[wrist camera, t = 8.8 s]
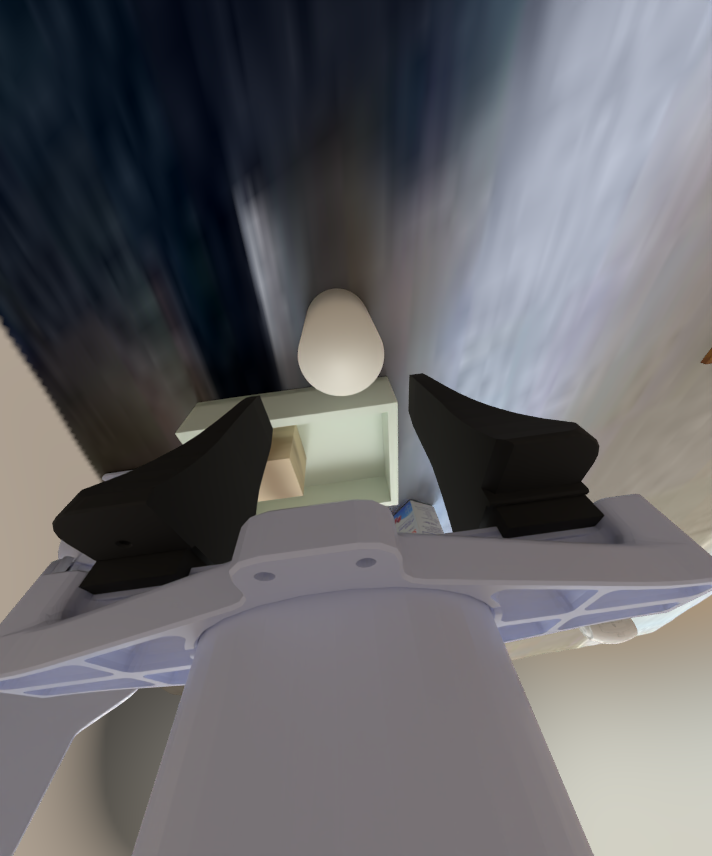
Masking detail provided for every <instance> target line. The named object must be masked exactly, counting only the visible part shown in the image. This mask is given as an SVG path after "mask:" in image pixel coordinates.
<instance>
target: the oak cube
mask: <svg viewBox="0 0 712 856" xmlns="http://www.w3.org/2000/svg"><path fill="white" fill-rule="evenodd" d="M306 459H307V458H306V455H305V451H304V448H303V445H302V442H301V438H300V435H299V432H298V429H297V425H292V426H285V427H277V428H273V435H272V444H271V449H270V453H269V456H268V460H267V464H266V467H265V471H264V474H263V478H262V482H261V486H260V490H259V496H258V502H260V501H268V500H275V499H282V498H290V497H297V496H303V493H304V482H305V470H306Z"/></svg>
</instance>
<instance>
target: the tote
mask: <svg viewBox="0 0 712 856" xmlns="http://www.w3.org/2000/svg"><path fill="white" fill-rule="evenodd" d="M258 395H260V397H261V400H262V402H263V405H264V407H265V410H266V412H267V415H268V417H269V420H270V422H271V425H272V427H273V428H277V427H285V426H292V425H297V429H298V432H299V435H300V438H301V442H302V445H303V448H304V451H305V455H306V458H307V459H306V470H305V482H304V493H303V496H297V497H290V498H282V499H275V500H268V501H260V502H258V503H257V510H256V515H258V514H261V513H264V512H267V511H272V510H279V509H286V508H294V507H301V506H309V505H316V504H323V503H331V502H338V501H345V500H353V499H360V500H373V501H375V502H378V503H380V504H382V505H385V506H392V505H398V402H397V399H396V397H395V395H394V392H393V390H392V387H391V385H390V382H389V380H388V377H387V376H385V377H378V378H376V380H375V381H374V382H373V383H372V384H371V385H370V386H369V387H367V388H366V389H364V390H363V391H361V392H359V393H356V394H353V395H348V396H334V395H329V394H326V393H323V392H321V391H319V390H318V389H316V388H315V387H306V388H299V389H292V390H285V391H278V392H270V393H263V394H256V395H249V396H242V397H234V398H227V399H220V400H213V401H206V402H199V403H197V404H196V406H195V407H194V408H193V410H192V411H191V412H190V414H189V415H188V417H187V418H186V419H185V421H184V422H183V423H182V425H181V426H180V427H179V429H178V430H177V431H176V433H175V434H176V436H177V437H178V438H179V440H180V441H181V443H182V444H184V443H186V442H187V441H189V440H191V439H192V438H194V437H195V436H197V435H198V434H200V433H201V432H202V431H204V430H205V429H206V428H208V427H209V426H210V425H212V424H213V423H214V422H216V421H217V420H218V419H220V418H221V417H222V416H223V415H224V414H226V413H227V412H228V411H229V410H231V409H232V408H233V407H234V406H235V405H237V404H238V403H239V402H240V401H242V400H243V399H245V398H246V397H251V396H258Z"/></svg>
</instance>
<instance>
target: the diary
mask: <svg viewBox="0 0 712 856" xmlns="http://www.w3.org/2000/svg"><path fill="white" fill-rule="evenodd" d="M701 363H704V364H711V363H712V348H711V349H710V351H709V352H708V353H707V355H706V356H705V357H704V358H703V360H702V361H701Z"/></svg>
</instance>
